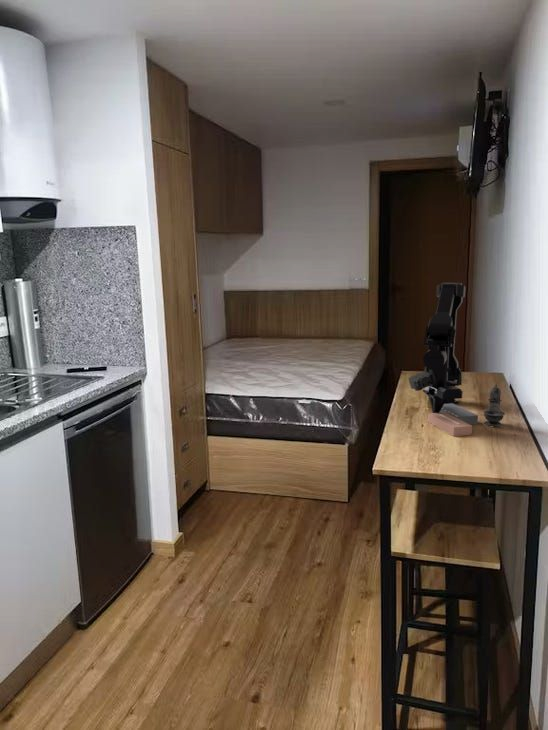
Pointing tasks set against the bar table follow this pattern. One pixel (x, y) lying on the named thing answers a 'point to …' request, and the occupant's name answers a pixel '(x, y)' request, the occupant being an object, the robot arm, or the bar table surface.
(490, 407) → the dark grey tiered figure
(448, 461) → the bar table surface
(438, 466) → the bar table surface
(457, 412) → the grey flat block
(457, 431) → the pink block
